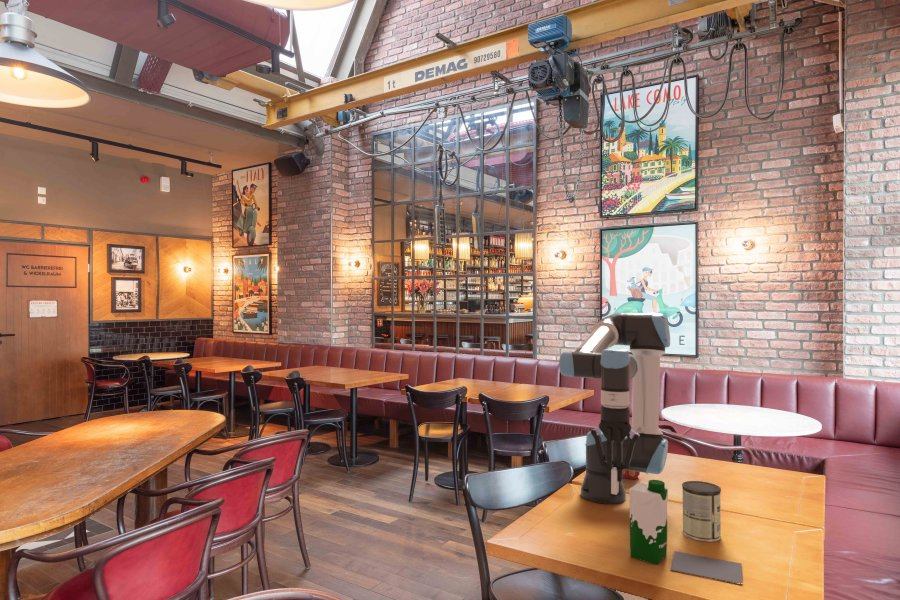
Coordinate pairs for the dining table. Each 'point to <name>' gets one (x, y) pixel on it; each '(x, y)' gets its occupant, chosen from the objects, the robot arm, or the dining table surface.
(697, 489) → the coffee can
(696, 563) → the mat
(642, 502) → the soya milk
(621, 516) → the dining table surface
